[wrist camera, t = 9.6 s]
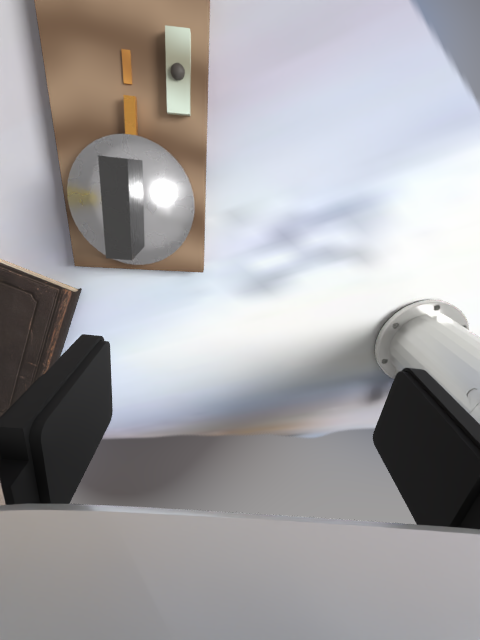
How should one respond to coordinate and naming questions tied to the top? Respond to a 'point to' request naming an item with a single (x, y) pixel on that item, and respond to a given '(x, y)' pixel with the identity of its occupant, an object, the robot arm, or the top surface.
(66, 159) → the levelling base
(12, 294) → the hardcover book
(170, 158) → the cam dial
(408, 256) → the top surface
